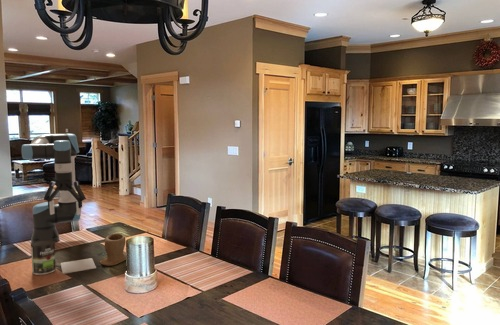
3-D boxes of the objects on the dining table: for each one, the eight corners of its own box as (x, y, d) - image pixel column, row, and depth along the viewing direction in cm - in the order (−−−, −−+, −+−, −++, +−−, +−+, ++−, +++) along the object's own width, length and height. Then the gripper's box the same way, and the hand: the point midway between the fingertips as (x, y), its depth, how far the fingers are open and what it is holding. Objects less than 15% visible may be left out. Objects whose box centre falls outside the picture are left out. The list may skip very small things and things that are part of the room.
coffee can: (60, 270, 192) (58, 242, 191) (38, 276, 184) (36, 247, 182) (49, 265, 198) (48, 238, 197) (28, 271, 190) (26, 243, 189)
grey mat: (60, 263, 200) (60, 263, 200) (92, 258, 208) (92, 258, 207) (62, 273, 187) (62, 272, 187) (96, 268, 194) (96, 267, 194)
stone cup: (113, 269, 193) (112, 239, 192) (96, 265, 199) (95, 236, 197) (136, 260, 206) (135, 232, 205) (120, 256, 212) (119, 228, 210)
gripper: (34, 172, 190) (36, 215, 192) (84, 172, 189) (86, 216, 191) (43, 170, 198) (45, 212, 200) (91, 171, 196) (93, 212, 199)
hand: (65, 214), depth 196 cm, fingers open, 13 cm apart
